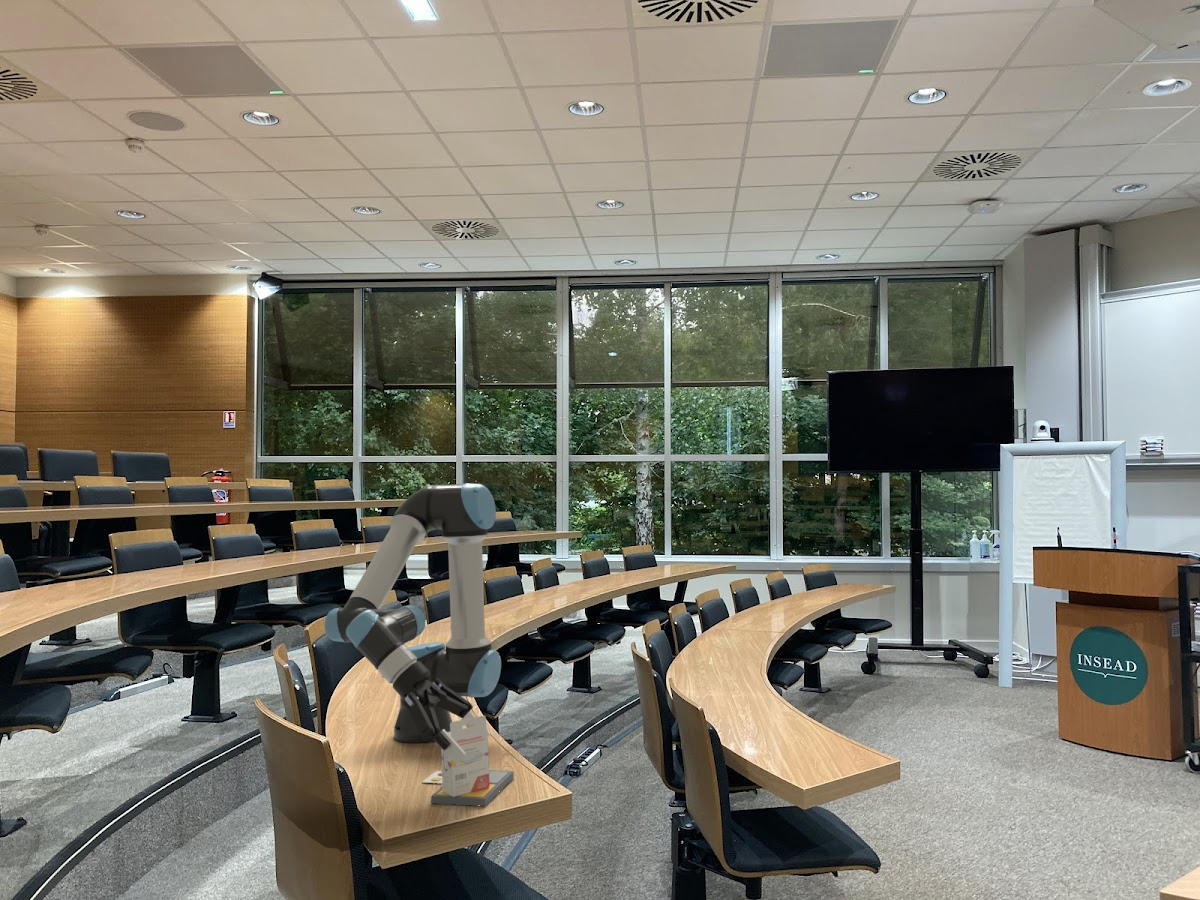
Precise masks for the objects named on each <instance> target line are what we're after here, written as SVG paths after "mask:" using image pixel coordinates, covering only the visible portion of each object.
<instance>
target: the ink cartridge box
mask: <svg viewBox="0 0 1200 900" xmlns="http://www.w3.org/2000/svg"><path fill="white" fill-rule="evenodd" d="M467 723H470V724H473V723H474V724H475V726H473V727H469V728H467V727H466V728H463V727H464V726H465V725H466V724H467ZM487 730H488V728H487V718H486V715H480V716H475V717H473V718H469V719H464V720H462V719H460V720H456V721H453V722H451V723H450V732H447V733H448V734H449V735H450V736H451V737H452V738H453V739H454V741H455V742H456V743H457V744H458V745H459V746H460V747H461V748H462V749H463V750H464V752H465V753H466V754H465V755H464V756H463V757H462V758H461V759H460V761H459V762H458V763H457V764H455V763H454V761H453V760H452V759H451V758H450V757H449V756H448V755H447V754H446V753H445V752H444V750H443V749H442V748H441V747H440V748H441V749H440V753H441V755H440V756H441V772H442V784H441V785H442V787H443V792H445V793H447V794H448V795H450V796H452V797H455V796H459V795H463V794H467V793H470V792H474V791H478V790H482V789H485V788H488V787H489V786H490V784H489V770H490V764H489V763H490V760H489V736H488V731H489V730H488V731H487Z"/></svg>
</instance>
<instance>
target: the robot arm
mask: <svg viewBox="0 0 1200 900" xmlns="http://www.w3.org/2000/svg"><path fill="white" fill-rule="evenodd" d="M495 503H496V502H495V499H494V497H493V495H492V493H491V491H490V490H489V489H488V488H487V487H486V486H485V485H483V484H482V483H468V482H466V483H457V484H455V483H454V484H453V483H452V484H431V485H427V486H424V487H422V488H421V489H418V490H417V491H415V492H414V493H413V494H411V495H410V496H409V497H408V498H407V499H406V500H405V501H403V503H401V504H400V506H399V507H398V508H397V510H395V512H394V514H393V516H391V517H392V518H391V519H390V521H389V527H390V529H388V532H387V533H386V536H385V538H384V539H383V541H382V542H381V544H380V545H379V547H378V548H377V551H376V553H375V554H374V555H373V557H372V559H371V561H370V563H369V565H368V566H367V568H366V569H365V571H364V573H363V575H362V576H361V578H360V580H359V581H358V583H357V585H356V586H355V588H354V590H353V591H352V593H351V595H350V597H349V598H348V600H347V602H346V603H345V604H344V607H338V608H336V607H335V608H333V609H331V610H330V611H328V613H327V615H326V617H325V619H324V631H325V634H326V636H327V637H328V639H330V640H331V641H333V642H341V643H346V644H347V643H352V644H353V646H354V647H355V648H356V649H357V650H358V651H359V652H360V653H361V654H362V655H363V656H364V657H365V659H367V660H368V661H369V662H370V664H371V665H372V666H374V668H375V670H377V671H378V673H380V675H381V678H383V679H385V680H386V681H387V683H388V684H392V688H393V689H394V691H395V692H396V693H397V694H398V695H399V701H400V702H399V703H400V706H399V710H398V714H397V717H396V720H395V725H394V727H393V738H394V739H395V741H398V742H401V743H413V744H414V743H415V744H417V743H427V742H428V743H431V742H435V743H436V744H437V745H438V746H439V747H440V748H442V749H443V750H444V752H445V753H446V754H447V755H448V756H449V757H450V758H451V759H452V760H453V761H454V763H455V764H457V763H458V762H459V761H460V759H461V758H462V757H463V756H464V755H465V754H466V753H465V752H464V750H463V749H462V748H461V747H460V746H459V745H458V744H457V743H456V742H455V741H454V739H453V738H452V737H451V736H450V735H449V734H448V733H447V732H450V723H451V722H454V721H453V719H452V717H451V714H453V715H455V716H457V717H458V718H460V719H461V720H464V719H469V718H473V717H476V715H475V714H474V713H473V712H472V711H471V710H473V708H474V706H473V705H472V703H471V702H470V701H468V700H467V699H466V697H467V698H482V697H483V698H484V697H487V696H489V695H490V694H492V692H493V691H494V690H495V688H496V686H497V684H498V682H499V679H500V676H501V669H502V659H501V656H500V653H499V652H498V651H497V650H495V649H492V640H491V639H489V638H488V637H487V636H486V623H485V622H486V621H485V594H484V593H485V592H484V591H485V590H484V562H483V541H484V540H485V539H486V537H488V530H489V529H491V528H492V527H493V526H494V524H495V522H496V521H495V519H496V517H497V512H496V511H497V510H496V504H495ZM435 530H439V531H441V538H442V539H443V540H444V541H445V542H446V543H447V547H448V551H447V552H448V572H449V573H448V576H449V577H448V578H449V579H448V580H449V606H450V607H449V608H450V609H449V610H450V611H449V612H450V634H451V635H450V639H449V640H448V641H447V642H446V643H445V642H443V641H434V642H432V641H431V642H426V643H421V644H415V645H412V646H409V647H408V646H407V645H406V643H409V642H411V641H413V640H415V639H416V638H417V637H418V636H420V635H421V634H422V633H423V632H424V630H425V628H426V618H425V617H426V616H425V615H424V612H423V611H422V610H421V609H420V608H419V607H418V606H416V605H413V604H407V605H403V606H400V607H399V608H396V609H395V608H382V607H383V605H384V603H385V601H387V600H386V599H387V598H388V596H389V594H390V592H392V589H393V587H394V585H395V583H396V582H397V580H398V578H399V576H400V574H401V572H402V571H403V569H404V567H405V565H406V563H407V561H409V558H410V556H411V554H412V552H413V550H414V549H415V547H416V545H417V543H419V542H422V541H423V540H424V538H425V537H426V535H427V533H429V532H431V531H435ZM464 726H465V727H466V728H469V727H473V726H475V724H474V723H473V724H470V723H467V724H466V725H464ZM487 731H488V737H489V736H490V735H491V732H490V730H489V729H487Z"/></svg>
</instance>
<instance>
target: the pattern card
mask: <svg viewBox="0 0 1200 900" xmlns="http://www.w3.org/2000/svg"><path fill="white" fill-rule="evenodd" d="M421 783H422V784H424V783H437V784H436V785H442V770H441V771H438V770H437V771H436V770H435V771H434V772H433V773H432V774H430V775H429V776H428V777H427V778H425V779H424V780H422V782H421Z"/></svg>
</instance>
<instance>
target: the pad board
mask: <svg viewBox="0 0 1200 900" xmlns="http://www.w3.org/2000/svg"><path fill="white" fill-rule="evenodd" d="M514 775H515V773H514V771H513V770H494V769H489V784H490V786H489V787H488V788H485V789H482V790H478V791H474V792H470V793H467V794H463V795H459V796H455V797H452V796H450V795H448V794H447V793H445V792H443V786H441V787H440V788H439V789H438V790H436V791H435V792H434V793H433V794H432V795H431V796H430V801H431V802H430V803H435V804H434V805H446V804H456V805H455V806H463V805H480V806H479V807H481V806H486V805H487V804H488V803H489V802H490V801H491V800H492V799H493V798H494V797H495V796H496V795H497V794H498V793H499V791H501V790H502V789H503V788H504V787H505V785H507V784H508V783H509V782H510V781H511V780H512V779H513V778H514V777H515V776H514ZM514 779H515V778H514ZM514 779H513V780H514ZM513 780H512V781H513ZM512 781H511V782H512ZM511 782H510V783H511ZM508 785H509V784H508ZM508 785H507V786H508ZM505 788H506V787H505ZM505 788H504V789H505ZM504 789H503V790H504ZM503 790H502V791H503ZM502 791H501V792H502ZM499 794H500V793H499ZM499 794H498V795H499ZM498 795H497V796H498ZM497 796H496V797H497ZM496 797H495V798H496ZM495 798H494V799H495ZM494 799H493V800H494ZM493 800H492V801H493ZM492 801H491V802H492ZM491 802H490V803H491ZM436 803H437V804H436ZM490 803H489V804H490ZM489 804H488V805H489ZM488 805H487V806H488ZM487 806H486V807H487Z"/></svg>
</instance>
